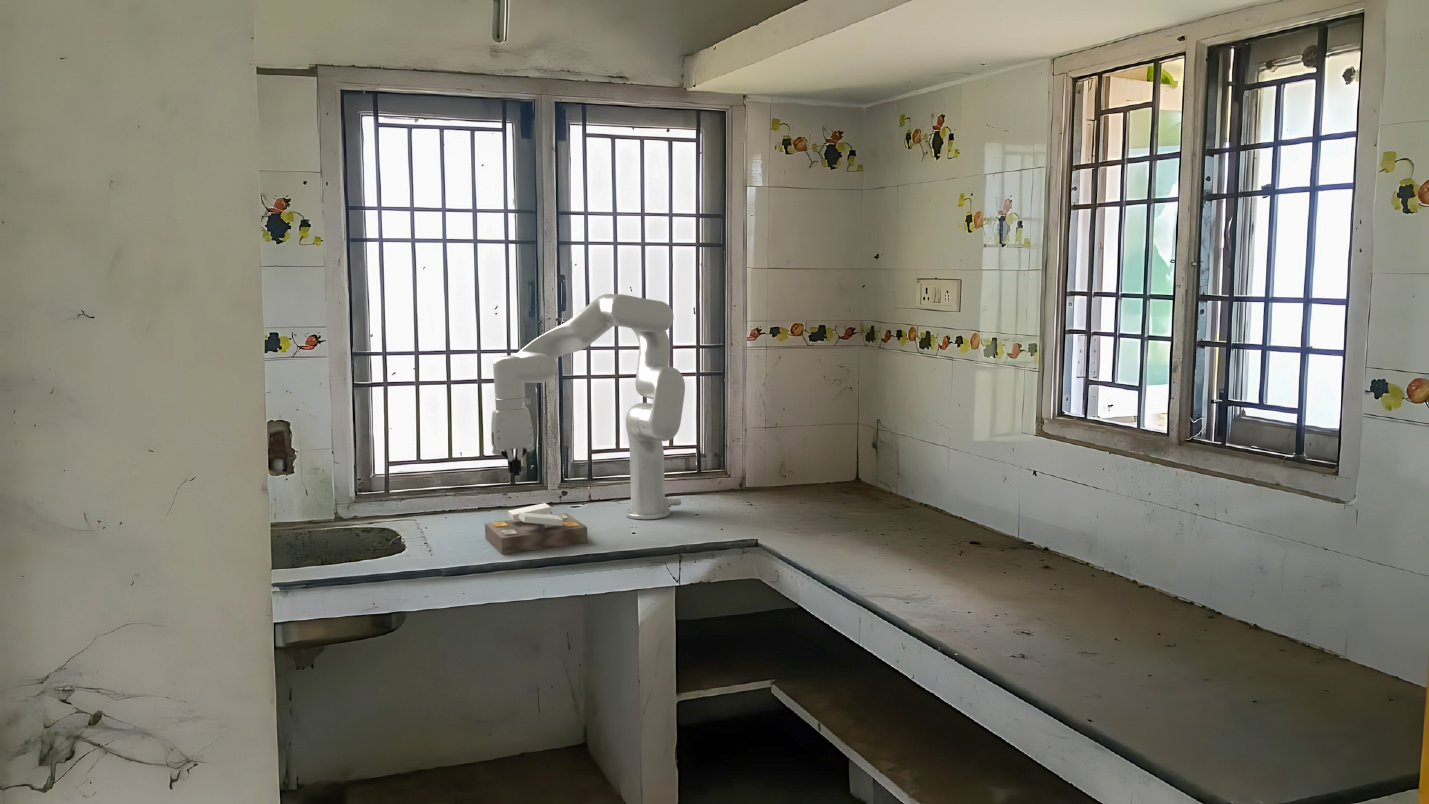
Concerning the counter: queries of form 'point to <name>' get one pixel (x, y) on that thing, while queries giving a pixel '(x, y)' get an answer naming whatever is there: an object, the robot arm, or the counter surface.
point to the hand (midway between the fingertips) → (515, 474)
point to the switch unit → (534, 534)
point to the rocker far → (530, 510)
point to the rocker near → (540, 519)
